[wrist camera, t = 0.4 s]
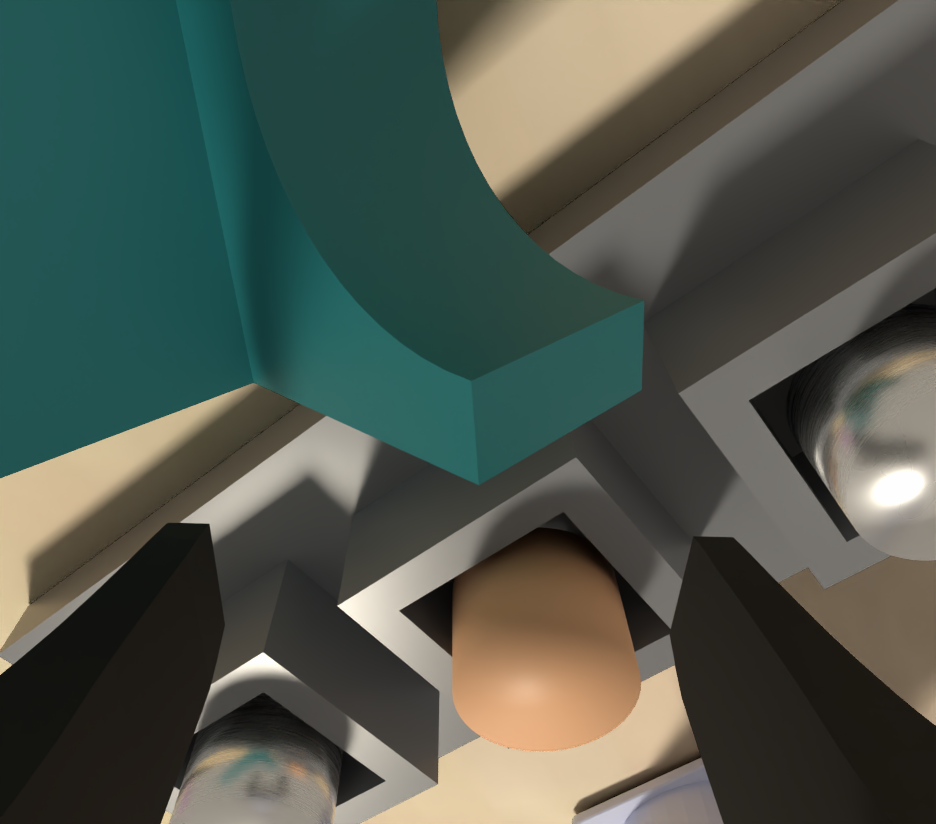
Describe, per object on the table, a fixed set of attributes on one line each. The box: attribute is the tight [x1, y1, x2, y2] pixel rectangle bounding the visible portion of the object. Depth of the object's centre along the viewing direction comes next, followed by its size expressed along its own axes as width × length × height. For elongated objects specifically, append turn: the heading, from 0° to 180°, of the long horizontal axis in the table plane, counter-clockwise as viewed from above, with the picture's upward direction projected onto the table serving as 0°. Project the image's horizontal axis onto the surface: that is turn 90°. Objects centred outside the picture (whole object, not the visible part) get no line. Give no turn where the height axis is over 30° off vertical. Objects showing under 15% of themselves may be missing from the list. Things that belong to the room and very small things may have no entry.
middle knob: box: [452, 527, 641, 751], centre depth 18 cm, size 4×4×3 cm
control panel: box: [0, 0, 936, 824], centre depth 21 cm, size 12×30×5 cm, turn 128°
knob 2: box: [786, 303, 936, 561], centre depth 15 cm, size 4×4×3 cm
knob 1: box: [169, 693, 343, 824], centre depth 21 cm, size 4×4×3 cm
